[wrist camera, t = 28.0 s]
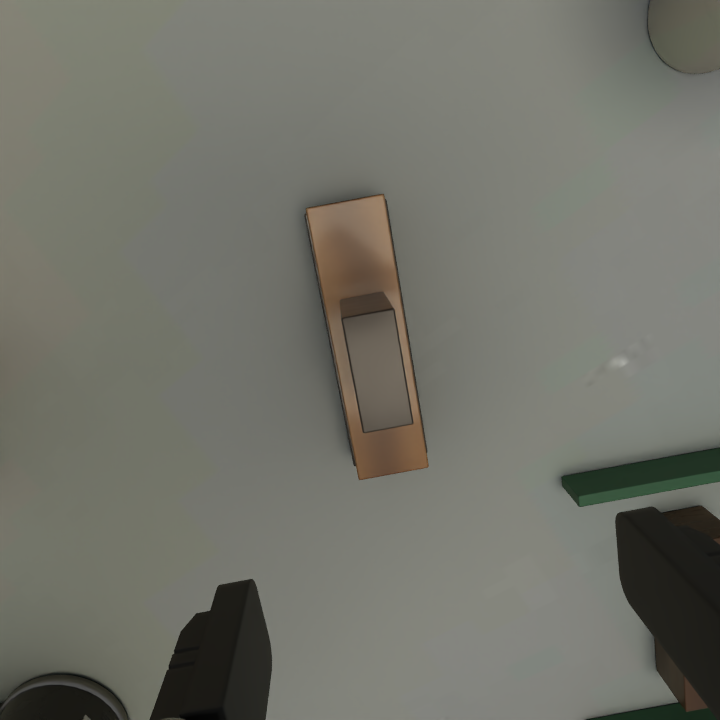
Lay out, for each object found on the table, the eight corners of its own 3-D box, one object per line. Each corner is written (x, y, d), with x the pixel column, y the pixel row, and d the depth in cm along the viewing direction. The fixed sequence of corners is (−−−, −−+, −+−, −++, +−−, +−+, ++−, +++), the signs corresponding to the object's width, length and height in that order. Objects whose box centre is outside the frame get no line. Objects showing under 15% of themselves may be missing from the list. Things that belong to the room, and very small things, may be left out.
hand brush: (353, 458, 41) (360, 531, 32) (304, 208, 37) (295, 209, 28) (424, 445, 41) (450, 515, 32) (382, 194, 37) (399, 189, 28)
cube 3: (649, 564, 44) (680, 599, 40) (646, 515, 43) (677, 545, 39) (703, 554, 44) (739, 588, 40) (701, 505, 43) (738, 534, 39)
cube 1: (656, 670, 46) (685, 712, 42) (653, 625, 45) (683, 665, 41) (708, 660, 46) (742, 702, 42) (706, 616, 45) (741, 654, 41)
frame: (586, 727, 47) (603, 761, 44) (561, 476, 42) (578, 496, 39) (786, 691, 47) (815, 723, 44) (786, 435, 42) (820, 452, 39)
